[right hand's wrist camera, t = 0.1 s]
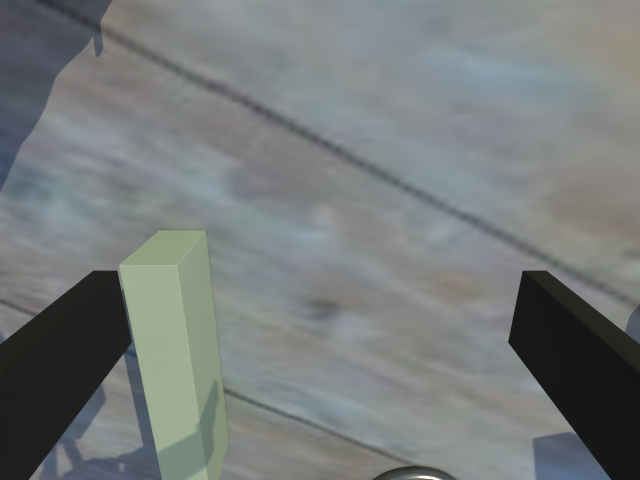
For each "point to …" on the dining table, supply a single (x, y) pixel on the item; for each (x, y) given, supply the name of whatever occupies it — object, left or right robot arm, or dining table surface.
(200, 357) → the sage box
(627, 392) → the right robot arm
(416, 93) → the dining table surface
